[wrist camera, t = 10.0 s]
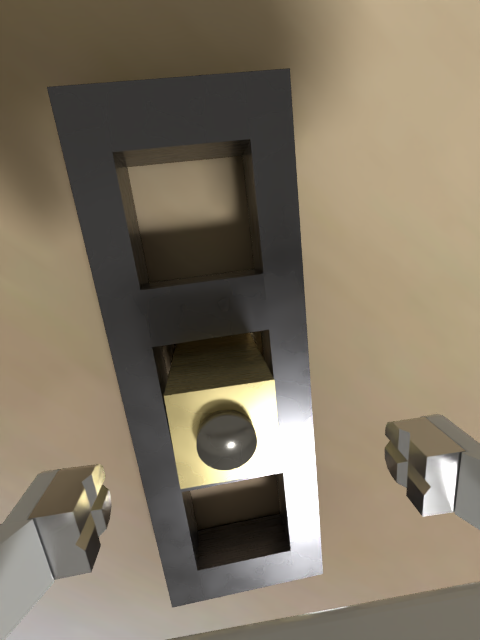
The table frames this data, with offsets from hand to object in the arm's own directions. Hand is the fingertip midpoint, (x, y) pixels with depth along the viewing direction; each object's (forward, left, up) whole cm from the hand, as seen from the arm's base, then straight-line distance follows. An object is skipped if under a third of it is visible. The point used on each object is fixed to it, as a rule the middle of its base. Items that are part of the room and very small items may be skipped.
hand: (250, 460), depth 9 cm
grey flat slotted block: (+1, +1, -9) cm, 9 cm away
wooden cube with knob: (+1, +1, -9) cm, 9 cm away
